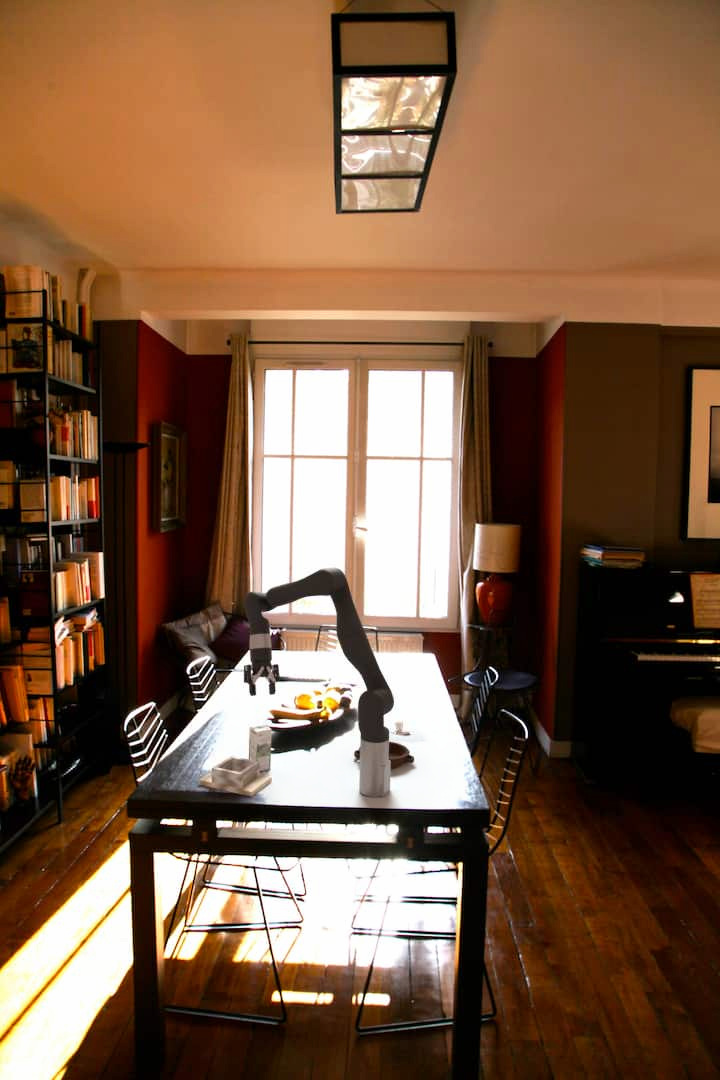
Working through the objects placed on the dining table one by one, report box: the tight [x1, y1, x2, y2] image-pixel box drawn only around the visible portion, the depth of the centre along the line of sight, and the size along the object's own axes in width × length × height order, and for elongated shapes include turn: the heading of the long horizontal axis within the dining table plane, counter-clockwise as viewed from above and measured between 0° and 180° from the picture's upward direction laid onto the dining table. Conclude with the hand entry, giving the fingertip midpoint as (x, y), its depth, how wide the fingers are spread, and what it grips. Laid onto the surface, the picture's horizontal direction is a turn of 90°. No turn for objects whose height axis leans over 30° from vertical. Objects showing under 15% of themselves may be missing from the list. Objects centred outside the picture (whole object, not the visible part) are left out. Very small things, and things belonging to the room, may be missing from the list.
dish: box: [353, 741, 415, 769], centre depth 216 cm, size 17×22×5 cm
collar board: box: [198, 755, 273, 798], centre depth 196 cm, size 20×12×6 cm, turn 68°
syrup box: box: [248, 724, 273, 773], centre depth 208 cm, size 6×6×14 cm
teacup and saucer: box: [389, 720, 411, 736], centre depth 248 cm, size 9×8×4 cm
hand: (262, 695), depth 207 cm, fingers open, 8 cm apart
